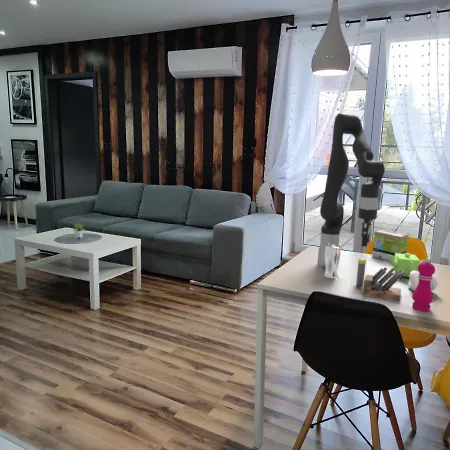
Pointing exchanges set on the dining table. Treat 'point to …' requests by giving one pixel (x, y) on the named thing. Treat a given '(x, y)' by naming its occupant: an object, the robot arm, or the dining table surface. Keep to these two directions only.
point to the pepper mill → (423, 287)
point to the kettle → (405, 263)
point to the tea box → (389, 244)
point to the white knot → (415, 280)
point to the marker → (360, 272)
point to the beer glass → (331, 260)
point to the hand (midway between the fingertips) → (365, 244)
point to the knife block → (386, 291)
